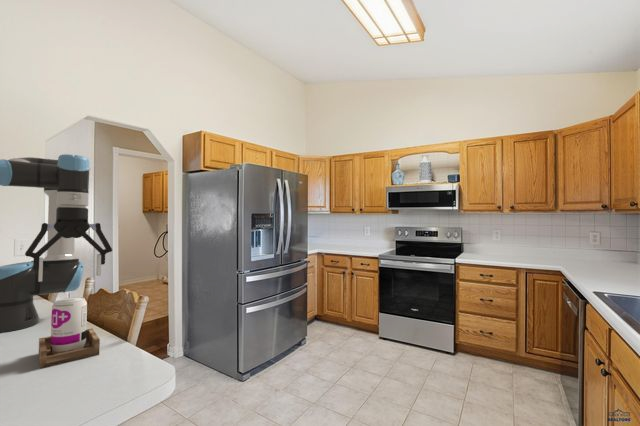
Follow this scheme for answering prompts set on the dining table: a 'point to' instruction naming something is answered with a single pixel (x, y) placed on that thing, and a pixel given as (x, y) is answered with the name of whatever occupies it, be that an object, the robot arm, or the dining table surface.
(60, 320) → the supplement can
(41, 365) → the walnut caddy
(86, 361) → the dining table surface
